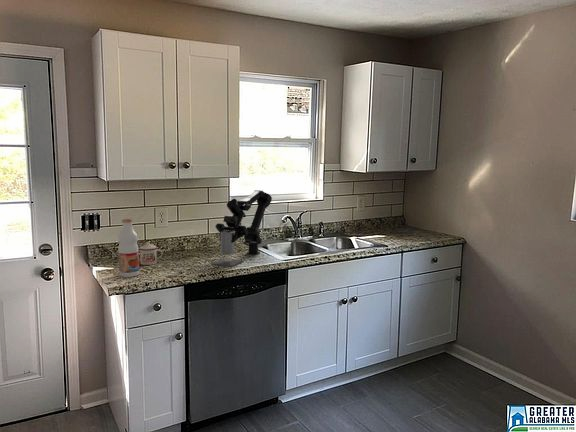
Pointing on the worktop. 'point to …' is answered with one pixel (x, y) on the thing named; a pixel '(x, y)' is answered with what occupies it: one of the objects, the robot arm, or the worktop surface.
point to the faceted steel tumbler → (227, 242)
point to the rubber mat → (227, 262)
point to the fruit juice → (128, 250)
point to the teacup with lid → (149, 254)
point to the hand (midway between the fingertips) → (226, 241)
